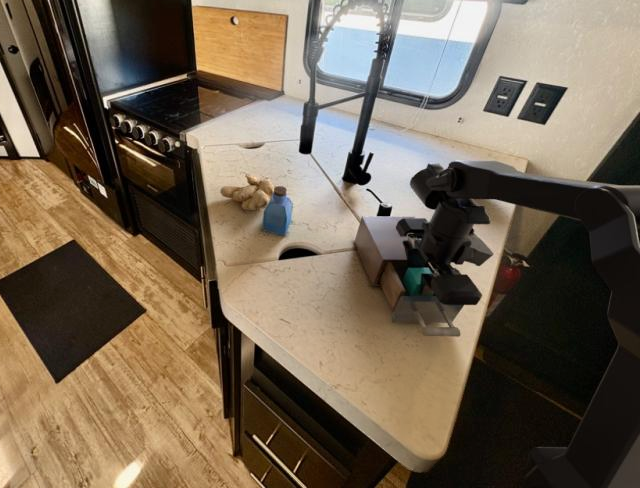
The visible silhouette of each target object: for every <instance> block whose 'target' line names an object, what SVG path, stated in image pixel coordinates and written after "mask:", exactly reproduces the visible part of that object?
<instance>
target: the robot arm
mask: <svg viewBox="0 0 640 488" xmlns="http://www.w3.org/2000/svg"><path fill="white" fill-rule="evenodd" d="M409 187H410V188H411V190H413V192H414V193H415V195H416V196H417V197H418V199H419V200H420V201H421V203H422V204H423V205H424V207H426V209H429V210H433V211H434V212H433V213H432V215H431V217H430V219H429V220H428V219H427V218H425V217H415V218H403V219H401V220H399V221H398V223H397V225H396V230H397V232H398V233H399V235H400V237H406V236H407V234H408V233H413V234H408V240H404V241H403V245H404V249H405V253H406V257H407V262H408V267H409V268H423V267H424V265H425V263H426V262H428V263H429V265H430V266H431V268H432V269H433V271H434V272H435V273H434V272H433V273H432V274H428V273H421V283H420V294H421V296H427V295H429V294H431V293H433V292H434V294H435V295H436V297H437V299H438V300H439V302H441V303H442V304H444V305H464V306H477V305H478V303H479V302H480V301H481V299H482V297H483V293H482V292H481V290H480V289H479V288H478V287H477V285H476V284H475V282H474V281H473V280H472V278H471V277H470V276H469V275H468V274H466V273H465V274H462V273H461V271H460V270H459V269H458V268H455V267H453V266H452V265H451V264H452V263H453V264H454V265H456V266H459V265H461V266H463V264H464V263H465V262H466V263H470V264H473V265H475V266H476V267H481V266H482V265H483V264H484V263H486V262H487V261H488V260H489V259H490V258H492V257H493V256H494V252H493V251H492V250H491V248H489V246H488V245H487V244H486V243H485V242H484V241H483V240H482V239H481V238H480V237H479V236H478V235H477V234H476V233H475V230H476V229H474V228H473V227H474V226H475V225H490V224H491V218H490V216H489V214H488V213H487V210H486V207H485V205H479V204H478V203H477V202H476V201H475V200H496V201H499V202H502V203H503V202H504V203H507V204H512V205H515V206H519V207H523V208H527V209H531V210H532V209H533V210H536V211H540V212H542V213H543V212H544V213H548V214H552V215H556V216H560V217H564V218H568V219H571V220H576V221H580V222H581V223H582V224H583V226H584V227H585V229H586V230H587V232H588V233H589V244H590V245H589V246H590V247H589V248H590V258H591V262H592V265H593V266H594V267H595V269H596V271H597V272H598V274H599V275H600V277H601V278H602V280H603V281H604V282H605V284H606V285H607V287H608V289H610V298H609V302H608V306H607V313H606V316H607V320H608V322H609V324H610V326H611V329H612V331H613V335H614V336H615V338H616V341H617V348H616V350H615V352H614V354H613V356H612V357H611V359H610V362H609V365H608V366H607V368H606V370H605V372H604V374H603V376H602V378H601V379H600V382H599V384H598V386H597V388H596V390H595V392H594V394H593V396H592V398H591V400H590V402H589V404H588V406H587V407H586V410H585V412H584V414H583V417H582V418H581V420H580V422H579V424H578V426H577V428H576V430H575V432H574V433H573V436H572V438H571V440H570V442H569V444H568V446H533V447H532V449H531V450H530V451H529V452H528V458H527V462H526V465H525V466H524V467H521V468H519V471H520V473H521V474H522V475H524V477H523V480H522V485H521V487H522V488H640V240H639V237H640V185H619V184H612V183H606V182H605V183H604V182H595V181H588V180H580V179H573V178H564V177H559V176H550V175H543V174H533V173H527V172H522V171H520V170H517V168H516V167H514V166H513V165H510V164H507V163H503V162H501V161H497V160H452V161H450V162H449V163H448V166H447V168H444V167H443V166H442V165H441V164H440V163H431V162H429V163H427V165H426V168H423V169H421V170H419V171H417V173H415V174H414V175H413V176H412V177H411V178H410V181H409Z"/></svg>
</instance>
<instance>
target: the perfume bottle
mask: <svg viewBox="0 0 640 488" xmlns="http://www.w3.org/2000/svg"><path fill="white" fill-rule="evenodd" d="M287 195H288V193H287V188H286V187H285V186H282V185H277V186H276V187H275V188H274V192H273V196H272V198H270V200H269V203H268V205H267V206H266V207H264V210H263V216H262V231H265V232H268V233H273V234H277V235H280V236H283V237H285V236H286V234H287V232H288V230H289V227H290V225H291V222H292V216H293V209H294V203H293V201H292V200H291V197H288V196H287Z"/></svg>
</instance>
